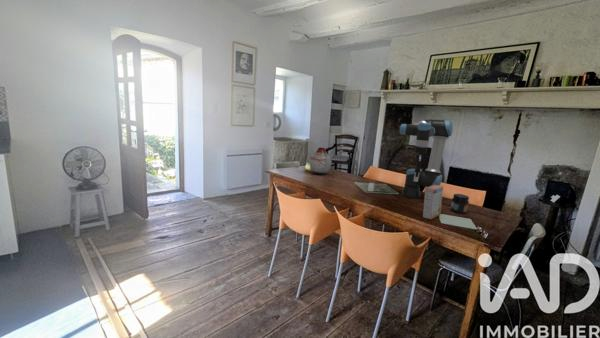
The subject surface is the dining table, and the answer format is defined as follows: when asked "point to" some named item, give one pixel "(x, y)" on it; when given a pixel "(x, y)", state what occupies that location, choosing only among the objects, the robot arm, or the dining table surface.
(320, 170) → the vase
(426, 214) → the cracker box
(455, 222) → the mat
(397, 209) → the dining table surface
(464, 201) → the supplement container
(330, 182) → the dining table surface
